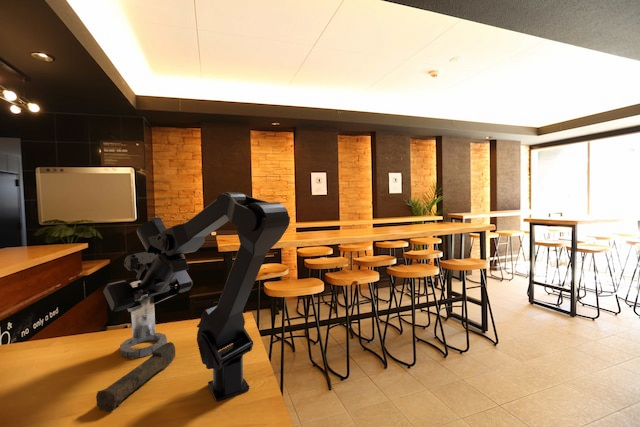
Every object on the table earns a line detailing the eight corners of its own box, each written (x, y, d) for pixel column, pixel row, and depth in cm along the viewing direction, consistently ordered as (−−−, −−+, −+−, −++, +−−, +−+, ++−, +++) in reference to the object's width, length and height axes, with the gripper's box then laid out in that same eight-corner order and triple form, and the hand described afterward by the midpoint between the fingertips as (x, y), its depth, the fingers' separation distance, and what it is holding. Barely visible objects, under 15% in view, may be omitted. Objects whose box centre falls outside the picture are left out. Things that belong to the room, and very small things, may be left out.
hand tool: (113, 415, 54) (112, 389, 53) (94, 411, 55) (94, 386, 54) (185, 359, 72) (184, 340, 72) (170, 357, 73) (170, 338, 73)
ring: (169, 350, 76) (168, 344, 76) (120, 362, 70) (120, 356, 70) (163, 334, 84) (163, 329, 84) (120, 344, 79) (119, 339, 78)
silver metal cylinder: (153, 336, 75) (150, 284, 75) (129, 339, 74) (127, 286, 73) (157, 328, 80) (155, 279, 79) (135, 331, 78) (133, 280, 78)
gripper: (184, 237, 81) (161, 273, 88) (105, 247, 66) (84, 291, 72) (204, 270, 78) (179, 305, 84) (125, 289, 62) (102, 331, 68)
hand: (140, 306), depth 77 cm, fingers closed on silver metal cylinder, 5 cm apart
